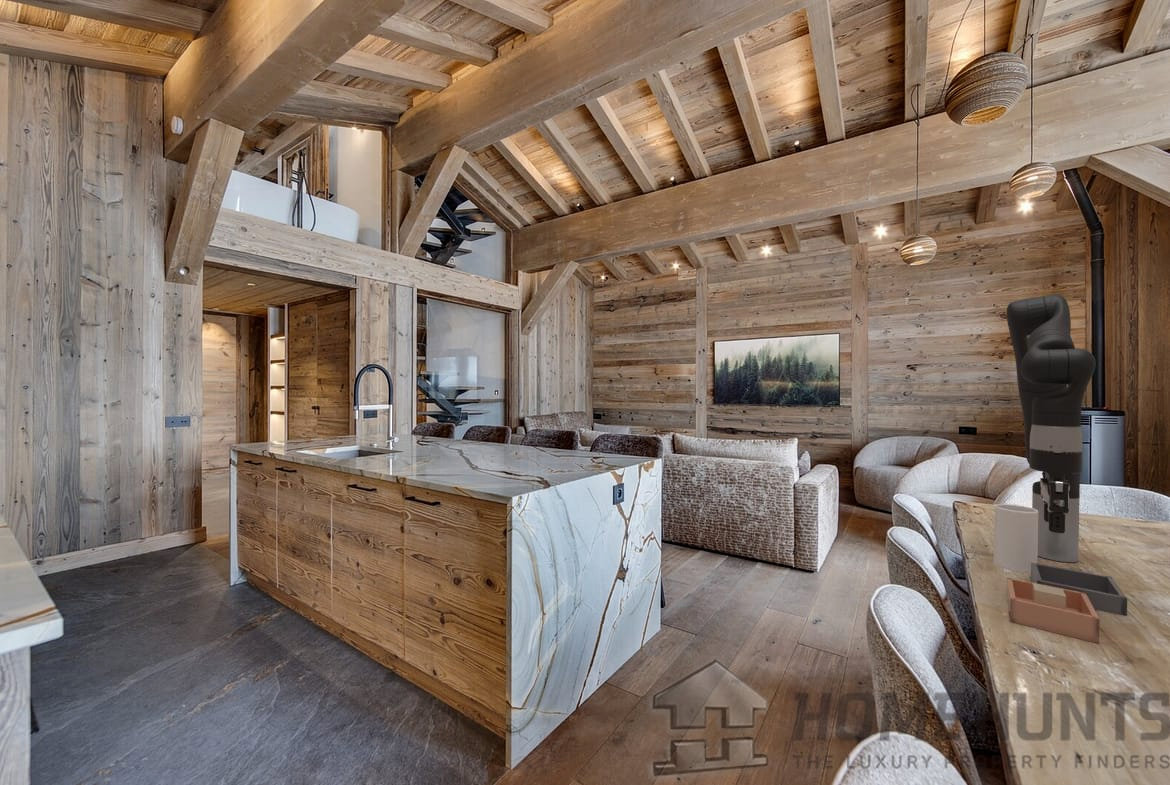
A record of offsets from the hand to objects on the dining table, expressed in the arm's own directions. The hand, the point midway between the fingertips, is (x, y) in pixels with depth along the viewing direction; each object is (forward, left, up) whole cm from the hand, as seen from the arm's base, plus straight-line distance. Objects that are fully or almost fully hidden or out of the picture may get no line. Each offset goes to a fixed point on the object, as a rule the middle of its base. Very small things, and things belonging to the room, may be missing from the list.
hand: (1053, 527), depth 95 cm
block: (+1, -1, -17) cm, 17 cm away
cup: (-28, -4, -19) cm, 34 cm away
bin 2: (-14, +5, -18) cm, 24 cm away
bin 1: (+2, -1, -18) cm, 18 cm away
